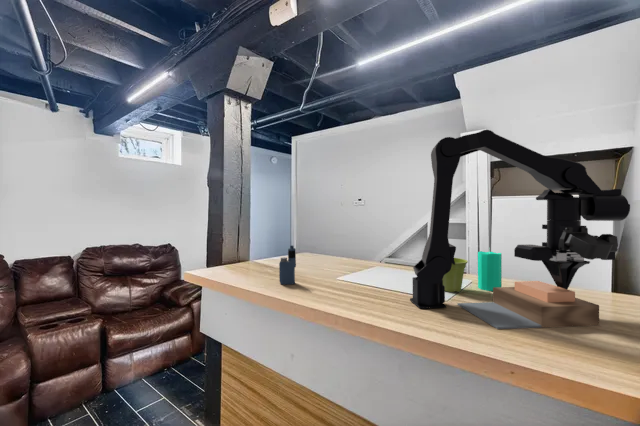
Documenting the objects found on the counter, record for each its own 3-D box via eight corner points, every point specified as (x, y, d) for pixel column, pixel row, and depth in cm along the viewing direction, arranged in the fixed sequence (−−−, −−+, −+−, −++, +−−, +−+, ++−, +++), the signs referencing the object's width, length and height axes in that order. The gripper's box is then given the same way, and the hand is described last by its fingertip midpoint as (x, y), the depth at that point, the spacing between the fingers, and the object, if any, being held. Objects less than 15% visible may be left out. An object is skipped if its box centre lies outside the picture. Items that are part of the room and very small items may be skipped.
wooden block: (541, 327, 55) (541, 306, 55) (493, 303, 69) (493, 287, 69) (599, 325, 56) (599, 305, 56) (539, 302, 70) (539, 286, 70)
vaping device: (295, 284, 89) (295, 246, 88) (278, 284, 89) (278, 246, 89) (296, 282, 91) (296, 245, 91) (280, 282, 91) (279, 245, 91)
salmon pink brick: (547, 302, 58) (547, 292, 58) (514, 290, 67) (514, 281, 67) (575, 301, 58) (575, 291, 58) (538, 289, 67) (538, 280, 67)
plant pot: (469, 288, 83) (469, 258, 83) (466, 296, 75) (466, 263, 75) (435, 283, 88) (435, 256, 88) (429, 291, 80) (429, 260, 80)
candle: (505, 291, 79) (505, 249, 79) (481, 290, 80) (481, 248, 80) (496, 286, 85) (496, 246, 85) (474, 285, 86) (474, 245, 86)
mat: (497, 328, 55) (497, 326, 55) (457, 304, 69) (457, 303, 69) (541, 327, 55) (541, 325, 55) (493, 303, 69) (493, 302, 69)
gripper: (556, 222, 54) (555, 303, 54) (646, 222, 55) (645, 301, 56) (512, 220, 65) (512, 287, 65) (588, 220, 67) (588, 286, 67)
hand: (562, 290), depth 63 cm, fingers closed
